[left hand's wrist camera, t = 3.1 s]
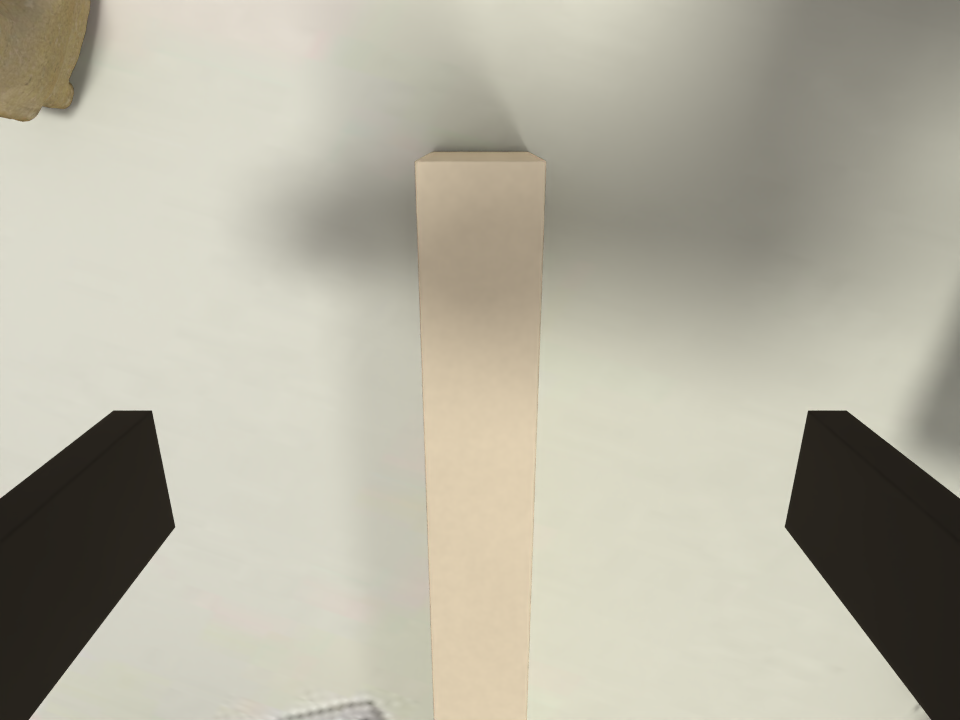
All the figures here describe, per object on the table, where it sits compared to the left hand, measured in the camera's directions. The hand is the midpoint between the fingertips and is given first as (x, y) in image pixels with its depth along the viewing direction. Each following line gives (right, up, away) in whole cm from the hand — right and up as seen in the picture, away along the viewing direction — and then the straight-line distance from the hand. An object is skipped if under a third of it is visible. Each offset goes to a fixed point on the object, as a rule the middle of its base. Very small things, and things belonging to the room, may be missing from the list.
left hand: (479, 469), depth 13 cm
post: (0, -14, +27) cm, 31 cm away
